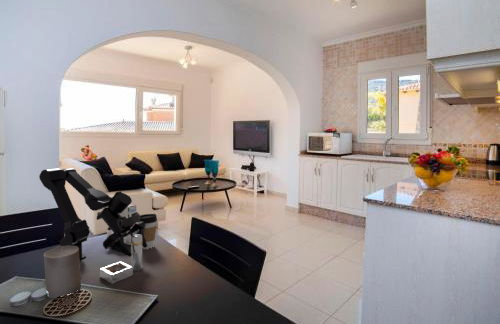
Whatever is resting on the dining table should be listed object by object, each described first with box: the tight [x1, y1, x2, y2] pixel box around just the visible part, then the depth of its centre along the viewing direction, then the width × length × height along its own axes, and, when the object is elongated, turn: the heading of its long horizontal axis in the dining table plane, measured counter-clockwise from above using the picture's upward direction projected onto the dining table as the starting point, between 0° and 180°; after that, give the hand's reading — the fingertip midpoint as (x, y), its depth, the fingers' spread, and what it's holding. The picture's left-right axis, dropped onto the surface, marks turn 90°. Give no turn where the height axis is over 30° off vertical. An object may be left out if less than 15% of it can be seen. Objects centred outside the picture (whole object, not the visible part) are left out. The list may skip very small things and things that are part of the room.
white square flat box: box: [99, 261, 134, 284], centre depth 106 cm, size 8×8×3 cm
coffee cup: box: [137, 213, 158, 250], centre depth 134 cm, size 8×8×15 cm
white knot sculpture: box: [106, 229, 131, 246], centre depth 135 cm, size 11×12×9 cm
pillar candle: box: [43, 246, 82, 299], centre depth 95 cm, size 10×10×15 cm
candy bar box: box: [119, 203, 137, 228], centre depth 147 cm, size 11×5×16 cm, turn 62°
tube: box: [130, 234, 143, 272], centre depth 112 cm, size 4×4×13 cm
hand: (139, 251), depth 112 cm, fingers open, 9 cm apart
